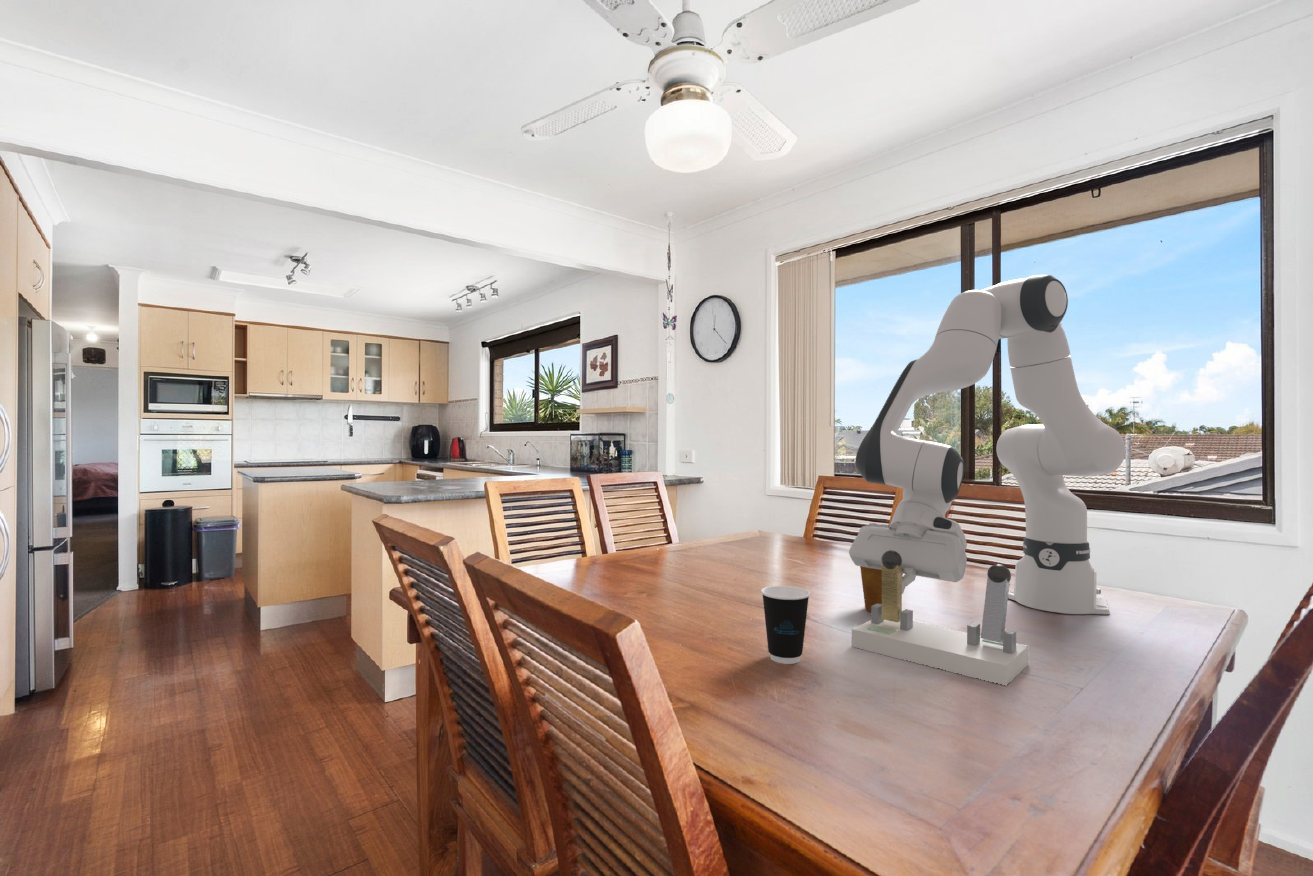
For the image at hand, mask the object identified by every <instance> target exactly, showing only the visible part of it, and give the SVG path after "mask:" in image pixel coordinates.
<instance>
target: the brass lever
mask: <svg viewBox="0 0 1313 876" xmlns="http://www.w3.org/2000/svg"><path fill="white" fill-rule="evenodd" d="M881 561H882V619H883V620H888V621H893V622H899V621H900V612H901V611H903V604H902V603H903V602H902V601H903V598H902V597H903V594H902V577H903V575H902V558H901V556H900V554H899V553H898V552H896V551H893V550H889V551H886V552H885V553H884V554H883V555H882V558H881Z"/></svg>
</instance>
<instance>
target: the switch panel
mask: <svg viewBox="0 0 1313 876" xmlns="http://www.w3.org/2000/svg"><path fill="white" fill-rule="evenodd" d="M870 615H871V616H870V620H869V621H866V622H864V623H862V624H860V625H857V626H855V627H853V628H852V629H851V647H852V648H855V649H859V650H865V651H867V652H872V653H875V654H878V655H883V656H887V657H891V658H896V659H899V660H902V659H904V660H903V661H906V660H908V662H910V661H911V662H910V663H914V662H915V664H919V665H922V664H925V665H924V666H926V665H928V666H927V667H931V668H933V667H934V668H933V669H937V668H940V669H939V670H941V669H943V670H942V671H945V670H946V672H949V673H955V674H957V673H959V674H958V675H961V674H962V675H961V676H964V677H965V676H966V677H968V678H972V679H973V678H974V679H976V678H979V679H978V680H980V679H981V680H980V681H984V680H985V681H984V682H988V681H989V682H988V683H992V682H994V683H993V684H996V683H998V684H997V685H1000V684H1002V685H1001V686H1004V685H1005V687H1007V686H1008V685H1009V684H1010V683H1011V682H1012V681H1013V680H1014V679H1016V678H1017V676H1019V674H1020V673H1021V672H1023V670H1024V669H1025V668H1026V667H1027V666H1028V665H1029V645H1027V644H1022V643H1018V642H1017V630H1013V629H1006V630H1005V632H1003V643H999V642H994V641H989V640H984V639H982V638H981V624H980V623H978V622H977V623H976V622H971V623H969V624H967V626H966V632H965V631H960V630H957V629H953V628H952V629H950V628H947V627H946V628H945V627H941V626H938V625H933V624H927V623H924V622H923V623H922V622H918V621H914V618H913V617H914V610H912V609H909V608H908V609H902V611H901V612H900V621H899V622H893V621H888V620H883V619H882V604H875V605H873V606H871V612H870ZM1009 682H1010V683H1009ZM1008 683H1009V684H1008ZM1007 684H1008V685H1007Z"/></svg>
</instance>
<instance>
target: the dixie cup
mask: <svg viewBox="0 0 1313 876" xmlns="http://www.w3.org/2000/svg"><path fill="white" fill-rule="evenodd" d="M760 593H761V595H762V601H763V602H762V603H763V611H764V620H765V633H766V641H767V651H768V653H769V658H770V660H771V661H773V662H775V663H777V664H782V665H792V664H798V663H799V662H800V661H801V657H802V655H803V650H804V642H805V633H806V631H805V630H806V624H807V623H806V622H807V614H808V606H809V599H810V598H809V597H811V592H810V590H808V589H806V588H802V587H799V586H793V585H792V586H791V585H770V586H769V585H768V586H766V587H763V588H761V589H760Z"/></svg>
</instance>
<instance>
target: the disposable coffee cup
mask: <svg viewBox="0 0 1313 876" xmlns="http://www.w3.org/2000/svg"><path fill="white" fill-rule="evenodd" d="M859 568H860V577H861V582H862V585H861V586H862V592H863V600H864V608H865V611H867V612H869V613H871V606H873V605H875V604H882V570H880V569H874V568H868V567H862V566H859ZM902 576H904V575H903V573H902Z"/></svg>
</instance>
